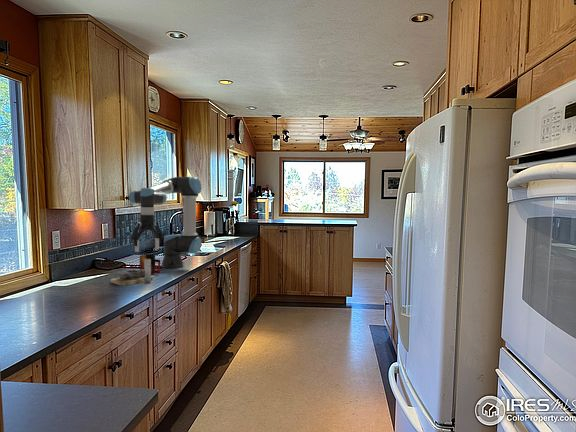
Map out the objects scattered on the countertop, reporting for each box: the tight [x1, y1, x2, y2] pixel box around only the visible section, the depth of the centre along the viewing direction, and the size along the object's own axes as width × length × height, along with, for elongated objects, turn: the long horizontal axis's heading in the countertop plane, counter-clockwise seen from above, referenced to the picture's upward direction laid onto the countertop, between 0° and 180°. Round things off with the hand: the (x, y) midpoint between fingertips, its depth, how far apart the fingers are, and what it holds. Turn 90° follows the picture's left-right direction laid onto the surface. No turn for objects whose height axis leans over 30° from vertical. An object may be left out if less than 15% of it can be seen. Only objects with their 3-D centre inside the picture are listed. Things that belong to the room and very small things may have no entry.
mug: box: [139, 253, 161, 276], centre depth 253 cm, size 10×14×12 cm
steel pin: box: [143, 259, 152, 285], centre depth 227 cm, size 4×4×14 cm
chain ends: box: [110, 268, 154, 287], centre depth 231 cm, size 19×14×6 cm
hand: (147, 250), depth 226 cm, fingers open, 13 cm apart
